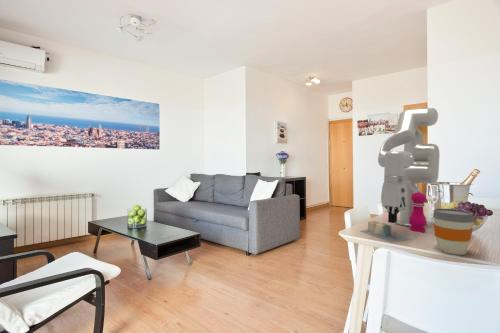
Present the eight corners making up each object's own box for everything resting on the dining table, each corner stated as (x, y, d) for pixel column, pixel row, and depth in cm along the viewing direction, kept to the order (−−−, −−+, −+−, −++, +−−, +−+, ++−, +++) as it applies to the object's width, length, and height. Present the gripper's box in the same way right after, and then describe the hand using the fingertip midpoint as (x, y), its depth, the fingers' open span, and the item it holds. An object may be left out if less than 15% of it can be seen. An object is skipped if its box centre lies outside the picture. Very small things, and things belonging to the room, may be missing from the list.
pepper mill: (420, 233, 131) (421, 190, 131) (405, 230, 138) (406, 189, 137) (429, 231, 135) (431, 189, 134) (414, 228, 141) (416, 188, 140)
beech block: (390, 235, 127) (375, 230, 135) (391, 225, 126) (375, 220, 135) (383, 236, 125) (367, 231, 133) (383, 226, 125) (368, 221, 133)
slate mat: (378, 229, 138) (378, 228, 138) (413, 240, 120) (413, 239, 120) (358, 231, 134) (358, 230, 134) (392, 243, 116) (392, 242, 116)
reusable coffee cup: (459, 258, 100) (461, 216, 99) (424, 247, 111) (425, 209, 110) (479, 253, 105) (481, 213, 104) (444, 243, 116) (445, 207, 116)
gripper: (415, 181, 117) (414, 225, 117) (386, 178, 131) (385, 218, 131) (401, 181, 114) (400, 227, 115) (373, 178, 128) (372, 219, 129)
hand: (392, 222), depth 123 cm, fingers closed
